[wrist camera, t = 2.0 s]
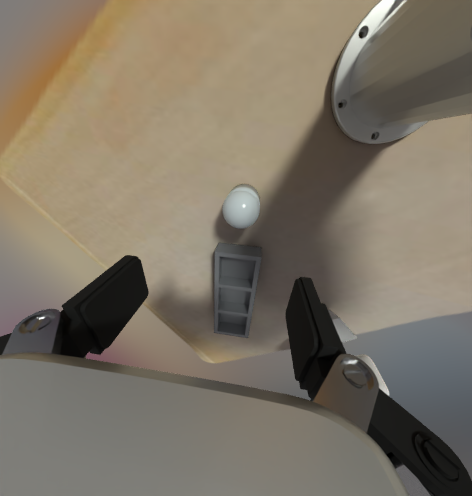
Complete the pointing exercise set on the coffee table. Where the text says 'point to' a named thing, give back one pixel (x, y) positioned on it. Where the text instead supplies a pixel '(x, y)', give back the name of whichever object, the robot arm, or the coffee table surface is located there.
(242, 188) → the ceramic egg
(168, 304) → the coffee table surface
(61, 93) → the coffee table surface
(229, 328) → the grey compartment tray
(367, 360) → the figurine
